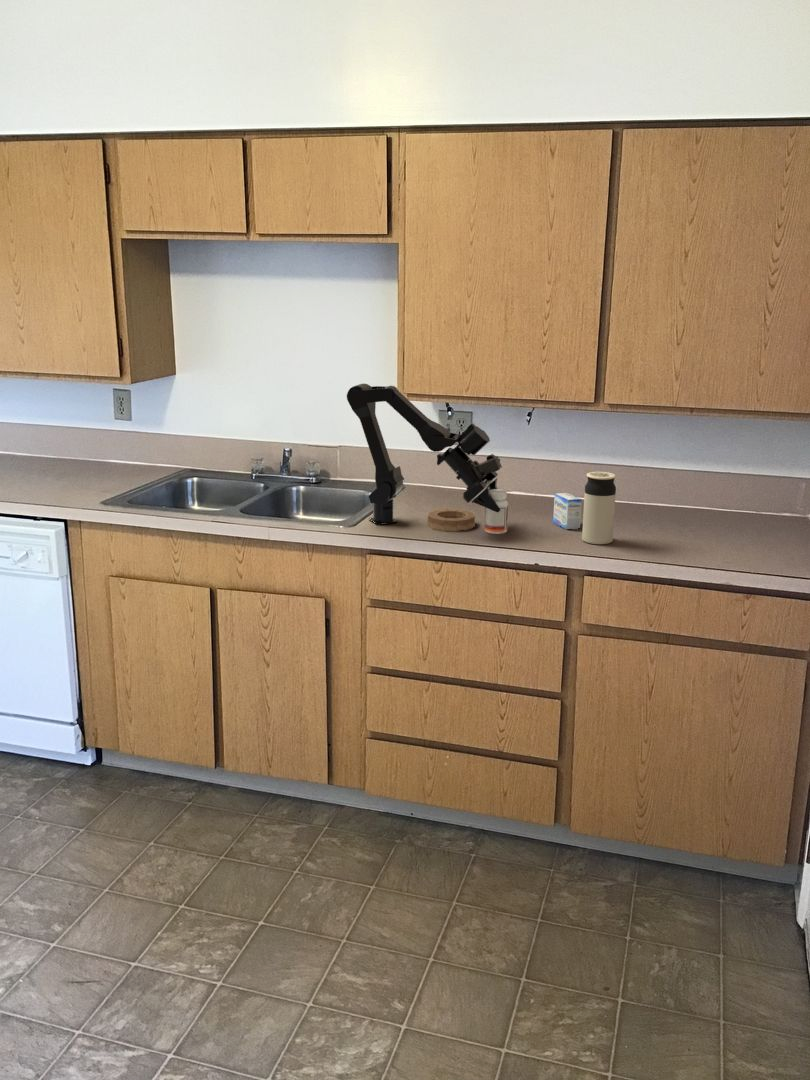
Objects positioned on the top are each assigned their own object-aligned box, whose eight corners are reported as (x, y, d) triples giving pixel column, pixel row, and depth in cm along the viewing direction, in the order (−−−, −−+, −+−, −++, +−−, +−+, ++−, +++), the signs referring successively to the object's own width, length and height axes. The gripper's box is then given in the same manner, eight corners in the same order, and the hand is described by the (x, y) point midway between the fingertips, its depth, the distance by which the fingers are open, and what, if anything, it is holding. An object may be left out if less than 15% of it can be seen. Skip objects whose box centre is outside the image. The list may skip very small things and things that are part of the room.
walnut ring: (420, 521, 284) (420, 511, 283) (460, 517, 289) (461, 507, 289) (441, 533, 273) (441, 522, 272) (483, 528, 278) (483, 517, 277)
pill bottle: (494, 527, 279) (495, 487, 276) (511, 531, 275) (513, 491, 272) (480, 531, 275) (481, 491, 271) (497, 535, 271) (499, 495, 267)
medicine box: (552, 523, 283) (553, 493, 281) (566, 522, 285) (568, 492, 283) (566, 530, 276) (568, 499, 274) (580, 529, 278) (582, 498, 275)
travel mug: (590, 546, 262) (594, 478, 257) (576, 538, 269) (580, 472, 264) (617, 543, 264) (622, 476, 259) (603, 535, 271) (607, 470, 266)
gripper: (476, 453, 261) (516, 497, 261) (491, 440, 278) (529, 482, 278) (446, 480, 265) (486, 524, 265) (463, 466, 282) (500, 507, 282)
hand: (501, 508), depth 273 cm, fingers closed on pill bottle, 6 cm apart
